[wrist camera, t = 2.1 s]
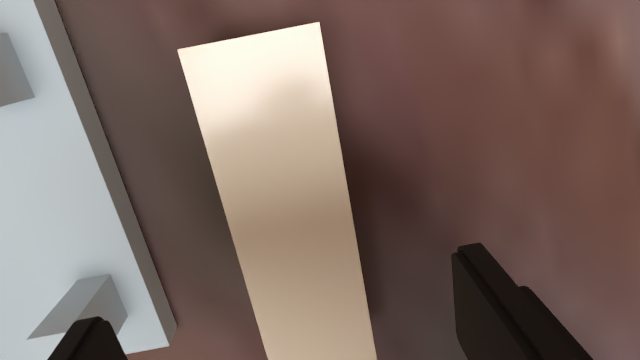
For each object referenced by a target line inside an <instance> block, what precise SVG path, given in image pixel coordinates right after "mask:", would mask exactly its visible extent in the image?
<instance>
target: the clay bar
mask: <svg viewBox="0 0 640 360" xmlns="http://www.w3.org/2000/svg"><path fill="white" fill-rule="evenodd" d="M178 54H179V57H180V61H181V64H182V67H183V71H184V74H185V78H186V81H187V84H188V88H189V91H190V95H191V98H192V102H193V105H194V108H195V112H196V115H197V119H198V122H199V125H200V129H201V132H202V136H203V139H204V143H205V146H206V149H207V153H208V156H209V160H210V163H211V166H212V170H213V173H214V177H215V180H216V184H217V187H218V190H219V194H220V197H221V201H222V204H223V207H224V211H225V214H226V218H227V221H228V225H229V228H230V231H231V235H232V238H233V242H234V245H235V248H236V252H237V255H238V259H239V262H240V266H241V269H242V272H243V276H244V279H245V283H246V286H247V289H248V293H249V296H250V300H251V303H252V307H253V310H254V313H255V317H256V320H257V324H258V327H259V330H260V334H261V337H262V341H263V344H264V348H265V351H266V354H267V358H268V360H377V358H376V352H375V346H374V340H373V334H372V328H371V322H370V317H369V311H368V305H367V299H366V293H365V287H364V281H363V276H362V270H361V264H360V258H359V252H358V246H357V240H356V234H355V229H354V223H353V217H352V211H351V205H350V199H349V193H348V188H347V182H346V176H345V170H344V164H343V158H342V152H341V147H340V141H339V135H338V129H337V123H336V117H335V111H334V106H333V100H332V94H331V88H330V82H329V76H328V70H327V65H326V59H325V53H324V47H323V41H322V35H321V29H320V24H319V22H316V23H311V24H306V25H301V26H296V27H291V28H285V29H280V30H275V31H270V32H265V33H260V34H255V35H250V36H244V37H239V38H234V39H229V40H224V41H219V42H214V43H209V44H203V45H198V46H193V47H188V48H183V49H178Z"/></svg>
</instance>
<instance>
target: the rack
mask: <svg viewBox="0 0 640 360" xmlns="http://www.w3.org/2000/svg"><path fill="white" fill-rule="evenodd" d="M96 316H100V317H102V318H103V319H104V320H107V321H109V322H110V324H111V325H112V328H113V330H114V332H115V334H116V336H117V338H118V340H119V342H120V345H121V347H122V349H123V351H124V353H125V354H129V353H134V352H140V351H145V350H150V349H156V348H161V347H166V346H170V343H171V341H172V338H173V336H174V333H175V331H176V328H177V324H176V322H175V319H174V316H173V314H172V311H171V308H170V306H169V303H168V300H167V298H166V295H165V293H164V290H163V287H162V285H161V282H160V279H159V277H158V274H157V271H156V269H155V266H154V263H153V261H152V258H151V255H150V253H149V250H148V247H147V245H146V242H145V239H144V237H143V234H142V232H141V229H140V226H139V224H138V221H137V218H136V216H135V213H134V210H133V208H132V205H131V202H130V200H129V197H128V194H127V192H126V189H125V186H124V184H123V181H122V179H121V176H120V173H119V171H118V168H117V165H116V163H115V160H114V157H113V155H112V152H111V149H110V147H109V144H108V141H107V139H106V136H105V133H104V131H103V128H102V126H101V123H100V120H99V118H98V115H97V112H96V110H95V107H94V104H93V102H92V99H91V96H90V94H89V91H88V88H87V86H86V83H85V80H84V78H83V75H82V72H81V70H80V67H79V65H78V62H77V59H76V57H75V54H74V51H73V49H72V46H71V43H70V41H69V38H68V35H67V33H66V30H65V27H64V25H63V22H62V19H61V17H60V14H59V12H58V9H57V6H56V4H55V1H54V0H0V360H47V359H48V358H49V356H50V355H51V354H52V352H53V351H54V349H55V348H56V346H57V345H58V344H59V342H60V341H61V339H62V338H63V336H64V335H65V334H66V332H67V331H68V329H69V328H70V327H71V325H72V324H73V323H74V322H75V321H77V320H80V319H86V318H91V317H96Z"/></svg>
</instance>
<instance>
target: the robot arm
mask: <svg viewBox="0 0 640 360" xmlns="http://www.w3.org/2000/svg"><path fill="white" fill-rule="evenodd" d="M452 273H453V289H454V304H455V320H456V333H457V337H458V340H459V343H460V345H461V347H462V349H463V351H464V353H465V355H466V357H467V358H468V360H593V359H592V358H591V356H590V355H589V354H588V353H587V352H586V351H585V350H584V349H583V347H582V346H581V345H580V344H579V343H578V342H577V341H576V340H575V338H574V337H573V336H572V335H571V334H570V333H569V332H568V331H567V329H566V328H565V327H564V326H563V325H562V324H561V323H560V322H559V320H558V319H557V318H556V317H555V316H554V315H553V314H552V313H551V311H550V310H549V309H548V308H547V307H546V306H545V305H544V304H543V303H542V301H541V300H540V299H539V298H538V297H537V296H536V295H535V294H534V292H533V291H532V290H531V289H529V288H528V287H526V286H520V287H518V286H517V285H516V284H515V282H514V281H513V280H512V279H511V278H510V277H509V275H508V274H507V273H506V272H505V271H504V269H503V268H502V267H501V266H500V265H499V264H498V262H497V261H496V260H495V259H494V258H493V257H492V255H491V254H490V253H489V252H488V251H487V250H486V248H485V247H484V246H483V245H482V244H481V243H475V244H470V245H464V246H459V247H458V250H457V253H453V254H452ZM47 360H128V359H127V357H126V355H125V353H124V351H123V349H122V347H121V345H120V342H119V340H118V338H117V336H116V334H115V332H114V330H113V328H112V325H111V324H110V322H109V321H107V320H104V319H103V318H102V317H100V316H96V317H91V318H86V319H80V320H77V321H75V322H74V323H73V324H72V325H71V327H70V328H69V329H68V331H67V332H66V334H65V335H64V336H63V338H62V339H61V341H60V342H59V344H58V345H57V346H56V348H55V349H54V351H53V352H52V354H51V355H50V356H49V358H48V359H47Z"/></svg>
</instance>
